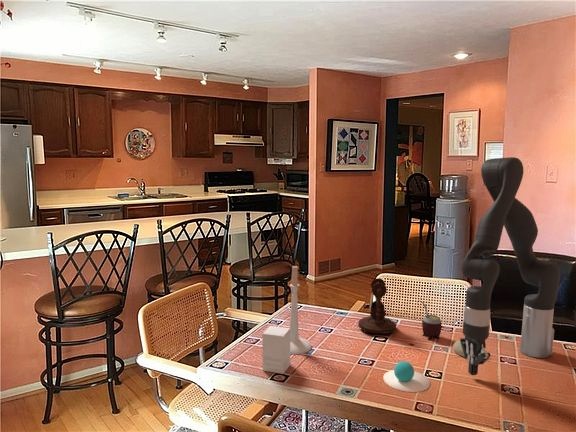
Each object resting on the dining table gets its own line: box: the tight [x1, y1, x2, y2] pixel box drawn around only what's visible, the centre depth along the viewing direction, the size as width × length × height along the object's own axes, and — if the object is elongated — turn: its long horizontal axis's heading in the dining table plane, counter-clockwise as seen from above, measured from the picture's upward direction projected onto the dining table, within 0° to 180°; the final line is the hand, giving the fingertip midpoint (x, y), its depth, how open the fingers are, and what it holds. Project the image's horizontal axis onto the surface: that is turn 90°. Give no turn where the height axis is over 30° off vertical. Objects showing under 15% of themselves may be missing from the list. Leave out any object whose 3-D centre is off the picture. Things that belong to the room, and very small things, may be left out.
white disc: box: [383, 369, 431, 393], centre depth 143 cm, size 14×14×1 cm
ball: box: [393, 360, 415, 382], centre depth 143 cm, size 6×6×6 cm
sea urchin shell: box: [452, 339, 466, 358], centre depth 163 cm, size 9×8×8 cm
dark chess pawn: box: [357, 277, 397, 336], centre depth 183 cm, size 15×15×20 cm
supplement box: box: [262, 325, 291, 375], centre depth 150 cm, size 7×7×13 cm
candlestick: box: [289, 265, 312, 355], centre depth 165 cm, size 13×13×30 cm
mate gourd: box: [419, 300, 443, 341], centre depth 176 cm, size 8×8×15 cm
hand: (472, 373), depth 145 cm, fingers closed
